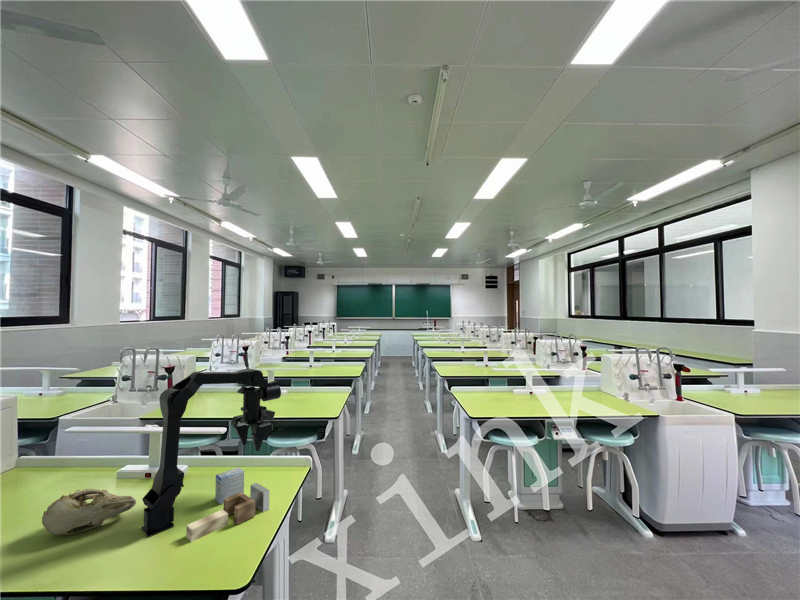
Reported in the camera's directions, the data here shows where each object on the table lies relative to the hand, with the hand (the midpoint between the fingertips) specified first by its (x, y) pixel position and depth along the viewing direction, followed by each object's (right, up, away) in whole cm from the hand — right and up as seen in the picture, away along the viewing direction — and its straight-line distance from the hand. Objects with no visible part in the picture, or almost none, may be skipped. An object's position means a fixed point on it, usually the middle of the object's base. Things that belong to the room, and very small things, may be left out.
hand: (251, 447), depth 124 cm
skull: (-38, -14, -22) cm, 46 cm away
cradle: (+4, -14, -17) cm, 22 cm away
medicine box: (-5, -15, -7) cm, 17 cm away
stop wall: (+8, -14, -12) cm, 20 cm away
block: (-2, -14, -24) cm, 28 cm away
